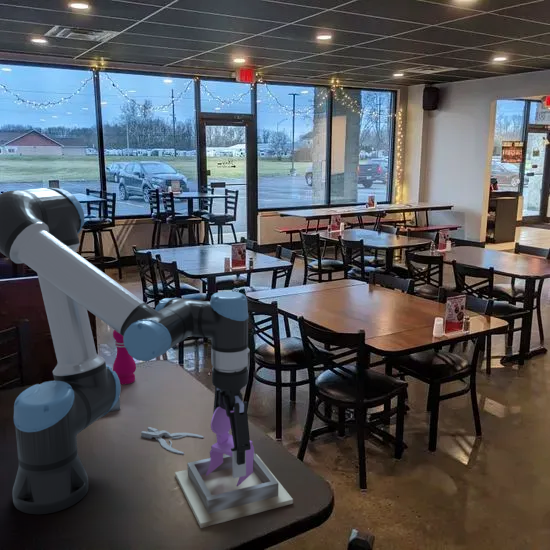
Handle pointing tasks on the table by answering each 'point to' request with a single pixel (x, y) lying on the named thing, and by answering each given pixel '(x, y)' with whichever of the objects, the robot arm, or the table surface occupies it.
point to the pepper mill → (123, 361)
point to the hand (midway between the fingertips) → (231, 464)
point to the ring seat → (229, 491)
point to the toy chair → (226, 444)
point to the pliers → (159, 434)
